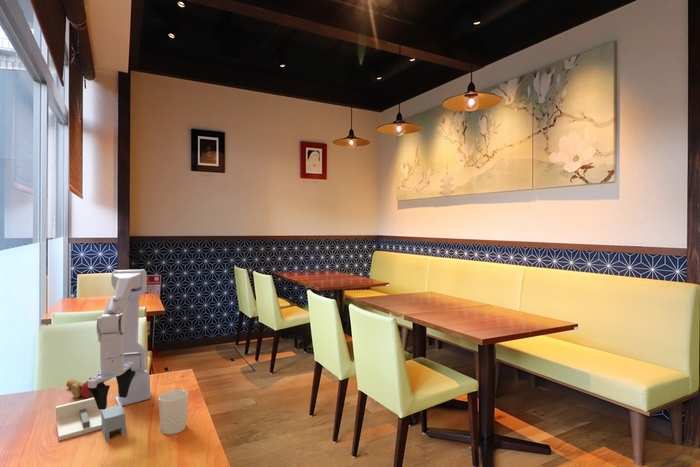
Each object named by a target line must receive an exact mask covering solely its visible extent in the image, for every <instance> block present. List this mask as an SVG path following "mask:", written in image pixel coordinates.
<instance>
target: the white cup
mask: <svg viewBox="0 0 700 467" xmlns="http://www.w3.org/2000/svg"><path fill="white" fill-rule="evenodd" d="M188 400H189V391H187V390H186V389H180V388H178V389H170V390H167V391H165V392H162V393H161V394H159V396H158V411H159V422H160V432H161V433H162V434H164V435H176V434H178V433H181V432H183V431H184V430H185V429H186V428H187V418H188V406H189V405H188V404H189V403H188V402H189V401H188Z"/></svg>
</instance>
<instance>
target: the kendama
mask: <svg viewBox="0 0 700 467" xmlns="http://www.w3.org/2000/svg"><path fill="white" fill-rule="evenodd" d="M93 377H94V376H91V377H89V378H88V380H90V379H92V378H93ZM88 380H87V381H85V382H81V381H78V380H76V379H72V378H70V379H68V381H67V382H66V387H67V388H69V389H70V391H71V393H72V396H73V397H74V398H76V399H77V398H80V397H83V398H86V399H89V398H94V397H93V395H92V394H91V392H90V391H89V390H88Z"/></svg>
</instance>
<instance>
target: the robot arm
mask: <svg viewBox="0 0 700 467" xmlns="http://www.w3.org/2000/svg"><path fill="white" fill-rule="evenodd" d="M147 278H148V275H147V271H146V270H145V268H142V269H140V268H139V269H114V270H113V271H112V272H111V286H112V288H113V290H114V295H113V296H112V297H111V298H109V299H108V300H107V304H106V306H105V309H104V311H103V314H102V315H101V316H99V317H97V320H96V334H97V341H98V343H99V352H100V353H99V354H100V355H99V356H100V360H99V362H100V369H99V370H98V373H97V374H96V375H95V376H92V377H93V378H92V379H90V380H89V379H88V380H87V381H88V390H89V391H90V392H91V394H92V395H93V398H94V399H95V401H96V404H97V407H98V409H101V410H104V409H106V406H107V407H108V394H109V391H110V387H111V385H107V384H106V382H107V381H109V380H111V379H114V378H115V379H116V382H117V396H115V397H114V399H115V401H116V403H117V405H121V406H122V407H123V406H127V405H131V404H134V403H139V402H141V401H146V400H150V399H151V398H152V397H151V378H150V377H151V376H150V372H149V370H148V369H147V367H148V355H147V348H146V347H145V346H143V345H142V344H141V343H139V315H140V299H141V296H142V295H143V294H145V293H146V292H147V288H148V287H147V283H148V282H147V281H148V280H147Z"/></svg>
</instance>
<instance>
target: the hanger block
mask: <svg viewBox="0 0 700 467" xmlns="http://www.w3.org/2000/svg"><path fill="white" fill-rule="evenodd" d="M126 423H127V421H126V412H125V410H124V408H123V406H121V405H118V404H117V405H114V406H111V407H107V408H106V409H104V410H101V426H102V429H101V432H102V434H103V438H104V440H105V441H107V440H110V432H113V431H115V430H119V433H120V434H121V436H123V435H124V436H125V435H126V431H127V430H126V426H127V425H126Z"/></svg>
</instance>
